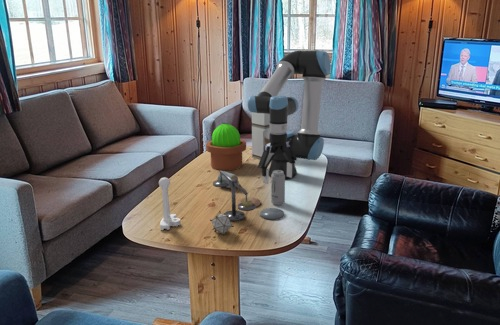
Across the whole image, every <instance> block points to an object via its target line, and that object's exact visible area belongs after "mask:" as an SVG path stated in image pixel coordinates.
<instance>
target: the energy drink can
mask: <svg viewBox="0 0 500 325" xmlns="http://www.w3.org/2000/svg"><path fill="white" fill-rule="evenodd" d="M270 180H271V182H270V192H271V193H270V197H271V198H270V199H271V200H270V202H271V204H272V205H273V206H277V207H278V206H279V207H280V206H283V205H284V203H286V202H285V199H286V198H285V196H286V195H285V194H286V179H285V175H284V172H283V171H281V170H275V171H273V173H272V175H271V177H270Z"/></svg>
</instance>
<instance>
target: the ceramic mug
mask: <svg viewBox="0 0 500 325" xmlns="http://www.w3.org/2000/svg"><path fill="white" fill-rule="evenodd" d="M222 171H223V172H224V173H225V174H227V175H228V176H229V177H230V178H231V179H236V180H237V184H238V185H239V183H240V182H239V178H238V176H237V175H236V174H234V173H231V172H228V171H226V170H222ZM217 180H220V173H219V174H218V175H217ZM222 180H227V181H229V180H228V179H227V178H226V177H224V176H223V175H222ZM225 188H226V189H231V185H229V186H226V187H225ZM235 188H237V187H236V186H235Z"/></svg>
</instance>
